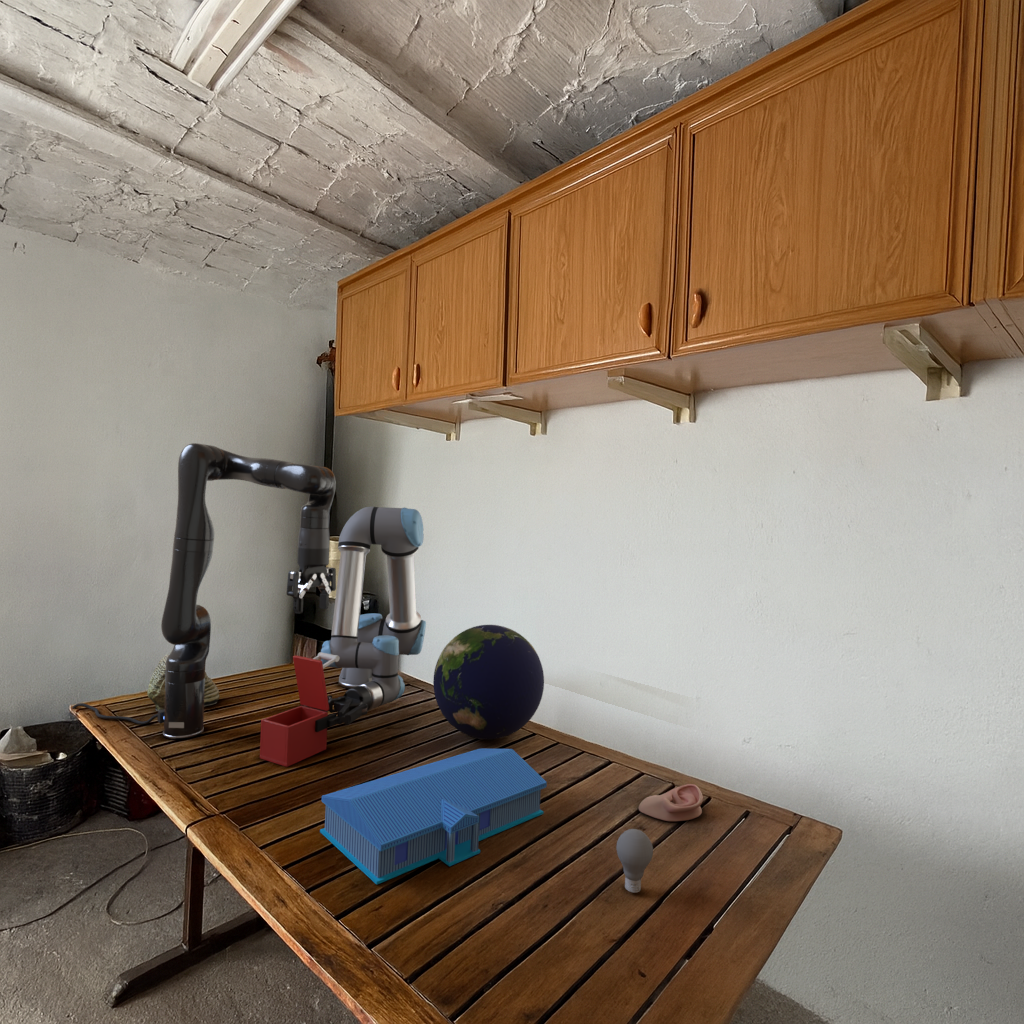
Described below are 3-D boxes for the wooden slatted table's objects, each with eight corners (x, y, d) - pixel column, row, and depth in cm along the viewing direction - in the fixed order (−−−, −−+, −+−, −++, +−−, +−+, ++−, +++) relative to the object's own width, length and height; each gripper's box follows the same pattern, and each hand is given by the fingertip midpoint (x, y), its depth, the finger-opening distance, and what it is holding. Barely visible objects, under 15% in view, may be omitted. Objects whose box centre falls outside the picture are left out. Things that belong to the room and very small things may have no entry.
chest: (286, 767, 147) (288, 727, 147) (259, 758, 152) (261, 719, 151) (326, 749, 159) (328, 712, 159) (300, 741, 163) (301, 705, 163)
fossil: (144, 707, 182) (145, 655, 182) (212, 696, 194) (213, 647, 194) (151, 716, 175) (153, 662, 175) (221, 703, 188) (223, 653, 188)
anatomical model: (639, 798, 130) (639, 775, 142) (638, 817, 130) (638, 792, 142) (706, 807, 128) (701, 783, 139) (705, 826, 128) (700, 800, 139)
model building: (386, 894, 102) (389, 832, 102) (318, 830, 120) (320, 778, 120) (555, 819, 128) (557, 770, 128) (478, 776, 146) (480, 733, 146)
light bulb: (610, 879, 108) (613, 822, 108) (644, 879, 109) (647, 822, 109) (619, 902, 102) (622, 840, 102) (655, 901, 103) (658, 840, 103)
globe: (409, 744, 164) (414, 628, 163) (461, 710, 191) (466, 611, 191) (517, 767, 152) (522, 643, 152) (556, 727, 180) (560, 623, 180)
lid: (319, 662, 155) (342, 648, 162) (292, 656, 159) (316, 643, 166) (326, 711, 158) (349, 695, 165) (300, 704, 162) (323, 689, 169)
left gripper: (303, 548, 150) (300, 616, 150) (345, 545, 162) (342, 608, 163) (280, 546, 153) (278, 613, 153) (323, 543, 166) (320, 605, 166)
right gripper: (392, 719, 172) (334, 746, 152) (332, 704, 182) (269, 728, 162) (394, 692, 172) (335, 715, 152) (333, 678, 182) (270, 699, 162)
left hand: (311, 610), depth 158 cm, fingers open, 8 cm apart
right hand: (301, 722), depth 157 cm, fingers closed on chest, 9 cm apart
